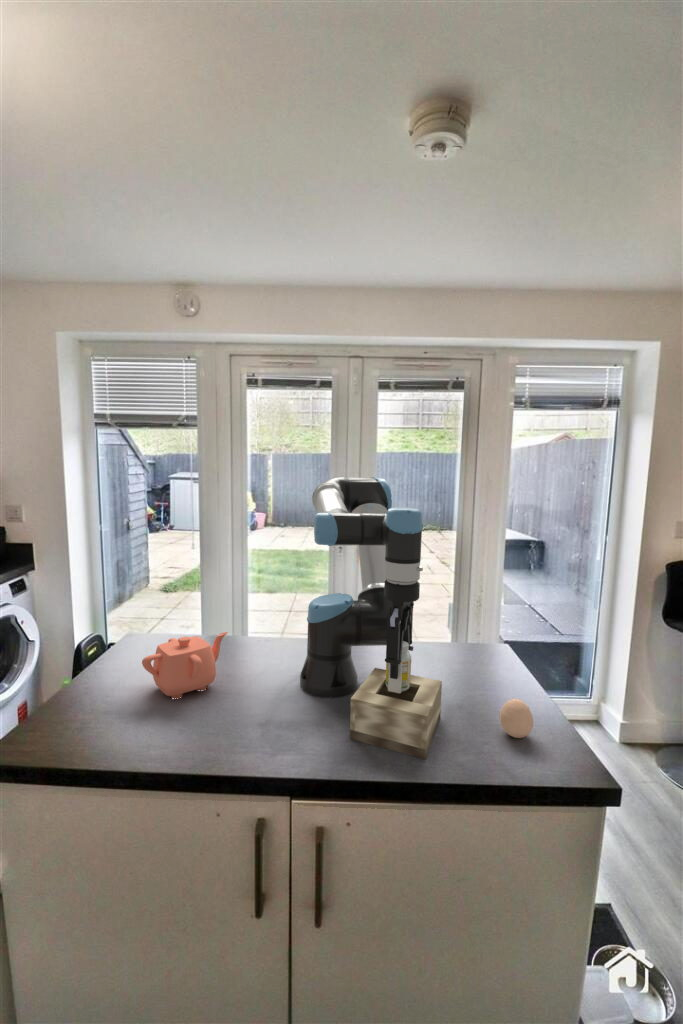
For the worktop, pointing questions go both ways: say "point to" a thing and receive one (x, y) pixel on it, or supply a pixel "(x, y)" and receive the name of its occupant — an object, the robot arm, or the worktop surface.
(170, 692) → the teapot
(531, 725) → the egg
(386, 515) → the robot arm
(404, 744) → the drop box
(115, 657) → the worktop surface
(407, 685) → the supplement bottle
